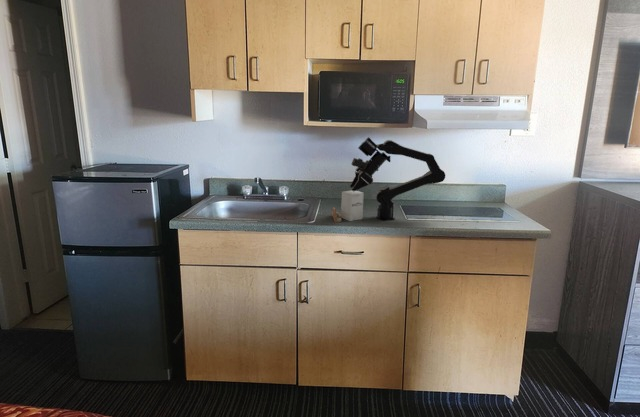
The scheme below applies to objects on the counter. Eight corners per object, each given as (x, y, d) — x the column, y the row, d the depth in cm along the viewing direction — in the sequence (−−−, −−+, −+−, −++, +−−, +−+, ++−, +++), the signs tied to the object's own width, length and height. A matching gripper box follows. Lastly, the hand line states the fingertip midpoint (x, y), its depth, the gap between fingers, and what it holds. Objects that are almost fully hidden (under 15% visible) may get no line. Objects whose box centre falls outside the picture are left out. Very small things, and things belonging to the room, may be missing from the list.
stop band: (338, 215, 201) (338, 207, 200) (341, 221, 191) (341, 213, 190) (332, 215, 201) (332, 207, 200) (334, 221, 191) (335, 213, 190)
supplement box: (350, 221, 191) (351, 194, 188) (340, 217, 197) (341, 191, 194) (363, 219, 195) (364, 192, 192) (353, 215, 201) (353, 189, 198)
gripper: (359, 149, 199) (337, 174, 202) (364, 153, 181) (339, 180, 184) (376, 165, 201) (354, 189, 204) (383, 170, 183) (358, 197, 185)
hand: (351, 188), depth 194 cm, fingers open, 9 cm apart
